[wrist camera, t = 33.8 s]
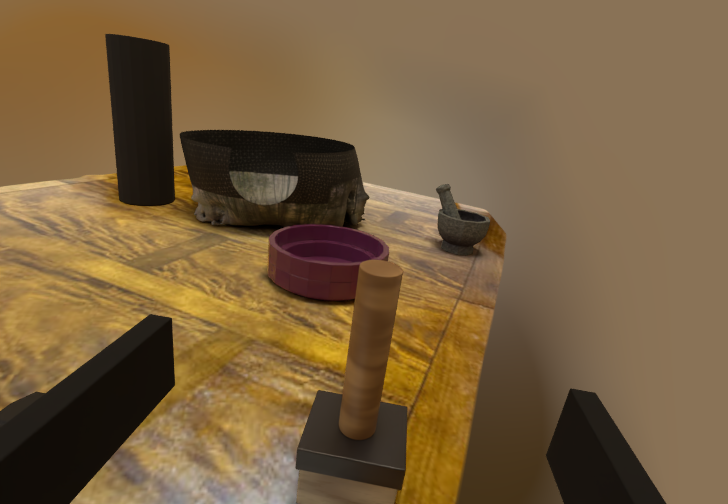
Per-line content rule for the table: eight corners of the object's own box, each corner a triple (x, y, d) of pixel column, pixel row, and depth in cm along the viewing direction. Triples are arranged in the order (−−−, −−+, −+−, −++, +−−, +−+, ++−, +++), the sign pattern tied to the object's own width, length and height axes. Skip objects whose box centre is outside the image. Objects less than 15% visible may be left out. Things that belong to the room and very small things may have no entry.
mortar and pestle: (486, 250, 80) (501, 191, 76) (475, 262, 72) (491, 197, 68) (434, 236, 85) (445, 179, 81) (418, 246, 77) (429, 184, 73)
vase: (155, 208, 79) (145, 38, 68) (107, 200, 79) (91, 31, 69) (184, 198, 88) (179, 47, 78) (141, 191, 89) (131, 41, 79)
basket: (344, 257, 66) (355, 158, 61) (153, 221, 71) (147, 126, 66) (372, 217, 93) (382, 146, 87) (231, 193, 98) (232, 124, 92)
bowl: (397, 273, 63) (402, 240, 61) (358, 318, 48) (364, 276, 46) (303, 249, 68) (306, 217, 66) (242, 282, 53) (243, 243, 51)
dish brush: (397, 456, 30) (437, 260, 24) (393, 527, 24) (442, 298, 19) (312, 439, 30) (333, 243, 25) (291, 505, 25) (312, 277, 20)
